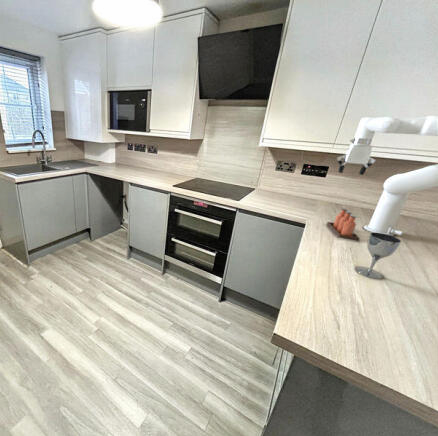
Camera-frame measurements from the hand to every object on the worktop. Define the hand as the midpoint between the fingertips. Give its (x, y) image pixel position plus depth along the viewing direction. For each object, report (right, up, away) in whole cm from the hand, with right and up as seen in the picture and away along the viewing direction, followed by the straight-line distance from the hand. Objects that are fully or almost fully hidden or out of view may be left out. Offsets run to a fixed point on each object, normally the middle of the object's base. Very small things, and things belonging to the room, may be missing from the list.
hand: (350, 173), depth 134 cm
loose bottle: (-15, -35, -14) cm, 40 cm away
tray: (-13, -33, -9) cm, 37 cm away
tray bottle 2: (-13, -33, -9) cm, 36 cm away
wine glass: (-32, -47, -45) cm, 72 cm away
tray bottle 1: (-11, -31, -4) cm, 33 cm away
